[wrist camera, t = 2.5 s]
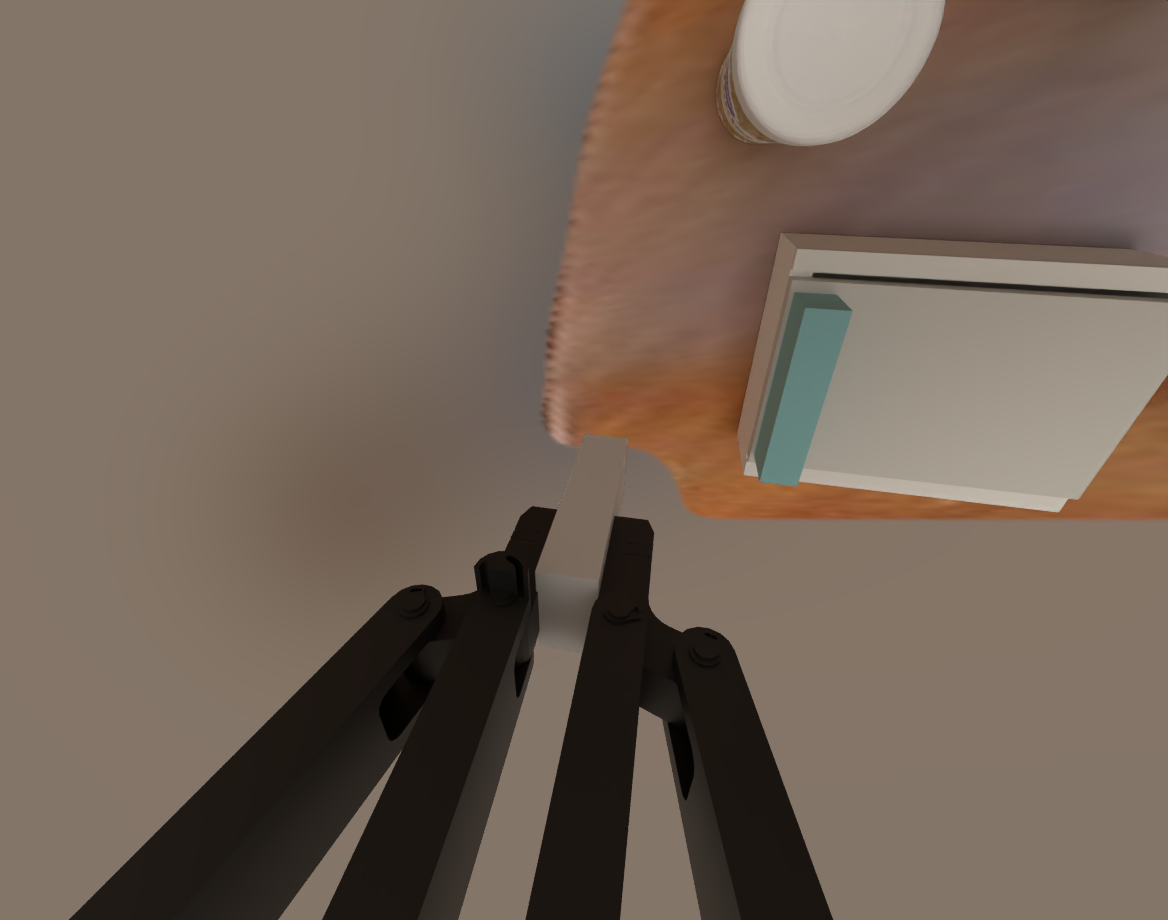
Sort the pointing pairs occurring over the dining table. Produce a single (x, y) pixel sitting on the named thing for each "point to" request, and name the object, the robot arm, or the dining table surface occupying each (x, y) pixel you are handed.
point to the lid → (955, 383)
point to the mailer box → (941, 267)
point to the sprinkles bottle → (821, 66)
